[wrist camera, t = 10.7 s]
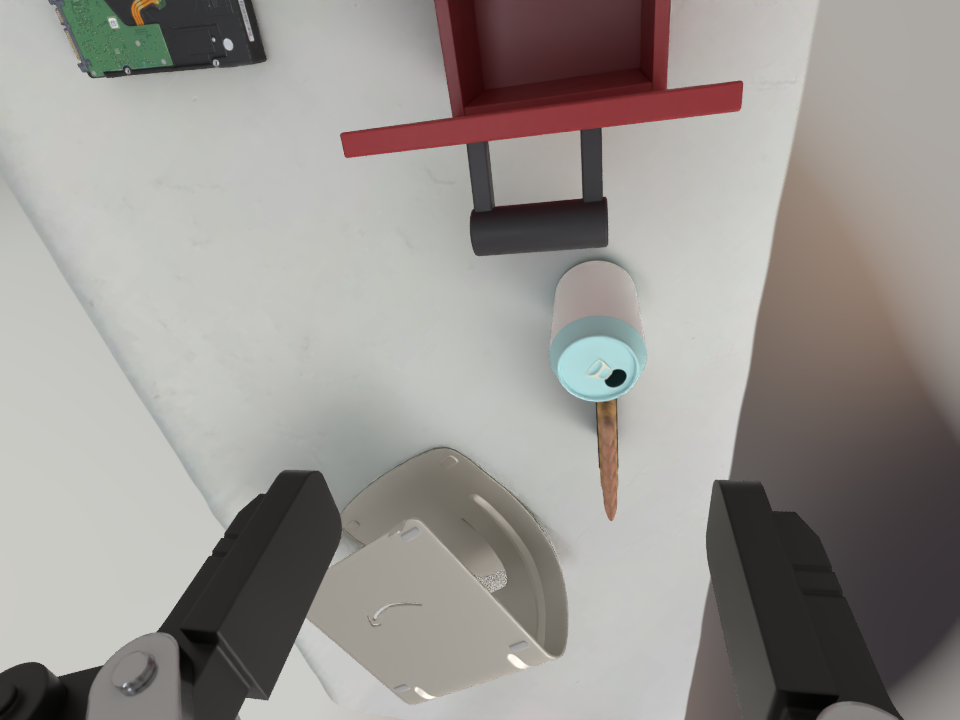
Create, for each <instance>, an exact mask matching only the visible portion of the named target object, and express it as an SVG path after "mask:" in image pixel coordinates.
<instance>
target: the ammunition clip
mask: <svg viewBox="0 0 960 720" xmlns="http://www.w3.org/2000/svg"><path fill="white" fill-rule="evenodd" d="M596 417H597V436H598V456H599V468H600V475H601V486H602V489H603V496H604V506H605V511H606V514H607V516H608V518H609V520H610V521H613V519H614V517H615V514H616V509H617V488H618V430H617V398H616V399H613V400H609V401H603V402H596Z"/></svg>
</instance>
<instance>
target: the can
mask: <svg viewBox="0 0 960 720" xmlns="http://www.w3.org/2000/svg"><path fill="white" fill-rule="evenodd" d="M646 359H647V350H646V344H645V339H644V333H643V327H642V322H641V316H640V310H639V305H638V299H637V293H636V288H635V285H634V282H633V280H632V278H631V277H630V275H629V274H628V273H627V272H626V271H625V270H624V269H622V268H621V267H619V266H617V265H615V264H613V263H610V262H606V261H588V262H584V263H581V264H579V265H577V266H575V267H573V268H571V269H570V270H569V271H568V272H566V273H565V274H564V276H563V277H562V278H561V280H560V281H559V283H558V285H557V288H556V292H555V300H554V310H553V320H552V330H551V340H550V350H549V361H550V365H551V368H552V370H553V372H554V374H555V376H556V377H557V378H558V380H559V381H560V383H561V384H562V386H563V387H564V388H565V389H566V390H567V391H568V392H569V393H571V394H572V395H574V396H576V397H578V398H580V399H583V400H587V401H593V402H603V401H609V400H613V399H616V398H618V397H620V396H622V395H624V394H625V393H627V392H628V391H629V390H630V389H631V388H632V387H633V386H634V384H635V383H636V381H637V379H638V378H639V376H640V375H641V373H642V371H643V369H644V367H645V364H646Z"/></svg>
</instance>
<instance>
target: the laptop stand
mask: <svg viewBox="0 0 960 720" xmlns="http://www.w3.org/2000/svg"><path fill="white" fill-rule="evenodd" d="M340 517H341V521H342V527H343V528H344V529H345V530H346V531H347V532H348V533H349V534H350V535H352V536H353V537H354V538H356V539H357V540H359V541H360V542H362V543H363V544H364V545H365V546H364V547H362V548H360V549H359V550H357V551H356V552H354V553H352V554H351V555H349V556H348V557H346V558H344V559H343V560H341V561H339V562H338V563H336V564H335V565H333V566H331V567H330V568H328V569H327V572H326V574H325V576H324V578H323V580H322V583H321V585H320V587H319V589H318V591H317V594H316V596H315V598H314V600H313V602H312V605H311V607H310V609H309V611H308V613H307V615H306V618H307V619H308V620H309V621H310V622H312V623H313V624H314V625H315V626H316V627H317V628H319V629H320V630H321V631H322V632H323V633H324V634H326V635H327V636H328V637H329V638H330V639H332V640H333V641H334V642H335V643H336V644H337V645H338V646H340V647H341V648H342V649H343V650H344V651H345V652H347V653H348V654H349V655H350V656H351V657H352V658H354V659H355V660H356V661H357V662H358V663H359V664H361V665H362V666H363V667H364V668H365V669H366V670H368V671H369V672H370V673H371V674H372V675H373V676H375V677H376V678H377V679H378V680H379V681H380V682H382V683H383V684H384V685H385V686H386V687H387V688H389V689H390V690H391V691H392V692H393V693H394V694H395V695H397V696H398V697H399V698H400V699H401V700H403V701H404V702H405V703H407V704H410V705H416V704H419V703H423V702H426V701H429V700H432V699H435V698H436V697H441V696H444V695H447V694H450V693H453V692H456V691H460V690H463V689H466V688H469V687H472V686H475V685H478V684H481V683H484V682H487V681H490V680H493V679H497V678H500V677H503V676H506V675H509V674H512V673H515V672H518V671H521V670H524V669H527V668H529V667H530V666H536V665H540V664H543V663H546V662H549V661H552V660H555V659H558V658H560V657H561V656H562V655H563V654H564V652H565V649H566V644H567V637H568V602H567V594H566V588H565V583H564V578H563V574H562V571H561V568H560V565H559V562H558V559H557V556H556V554H555V552H554V549H553V547H552V545H551V544H550V542H549V540H548V538H547V537H546V535H545V534H544V532H543V531H542V529H541V528H540V526H539V525H538V524H537V522H536V521H535V520H534V518H533V517H532V516H531V514H530V513H529V512H528V511H527V510H526V509H525V508H524V507H523V505H522V504H521V503H520V502H519V501H518V500H517V499H516V498H515V497H514V496H513V495H512V494H511V493H510V492H509V491H508V490H506V489H505V488H504V487H503V486H502V485H500V484H499V483H498V482H497V481H495V480H494V479H493V478H492V477H490V476H489V475H488V474H487V473H485V472H484V471H483V470H482V469H480V468H479V467H478V466H477V465H475V464H474V463H473V462H472V461H470V460H469V459H468V458H466V457H465V456H463V455H462V454H460V453H459V452H457V451H454V450H452V449H448V448H438V449H433V450H430V451H428V452H425V453H423V454H421V455H419V456H416V457H414V458H412V459H410V460H408V461H407V462H405V463H403V464H401V465H399V466H397V467H396V468H394V469H392V470H391V471H389V472H387V473H386V474H384V475H383V476H381V477H380V478H378V479H377V480H376V481H374V482H373V483H372V484H370V485H369V486H368V487H367V488H365V489H364V490H363V491H362V492H361V493H360V494H359V495H357V496H356V497H355V498H354V499H353V500H352V501H351V502H350V504H349V505H348V506H347V507H346V508H345V509H344V511H343V512H342V514H341V515H340ZM464 519H465V520H464ZM503 569H505V571H506V574H507V584H506V586H505V587H503V588H502V589H499V590H497V591H495V592H493V593H491V592H490V591H489V590H488V589H487V588H486V587H485V586H484V585H483V584H482V583H481V582H480V581H479V580H478V579H477V578H476V576H475V575H477V576H479V577H487V576H490V575H492V574H494V573H497V572H499V571H501V570H503ZM474 574H475V575H474ZM392 603H404V604H396V605H392V606H389V607H387V608H386V609H384V610H383V611H382V612H381V613H380V614H379V615H378V616H377V618H376V619H374V618H373V617H374V615H375V614H376V612H377V611H378V610H379V609H381V608H382V607H384V606H386V605H388V604H392ZM412 603H419V604H412ZM369 618H370V619H369ZM370 620H371V621H370ZM371 622H372V623H373V624H379V625H373V624H372V623H371Z"/></svg>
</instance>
